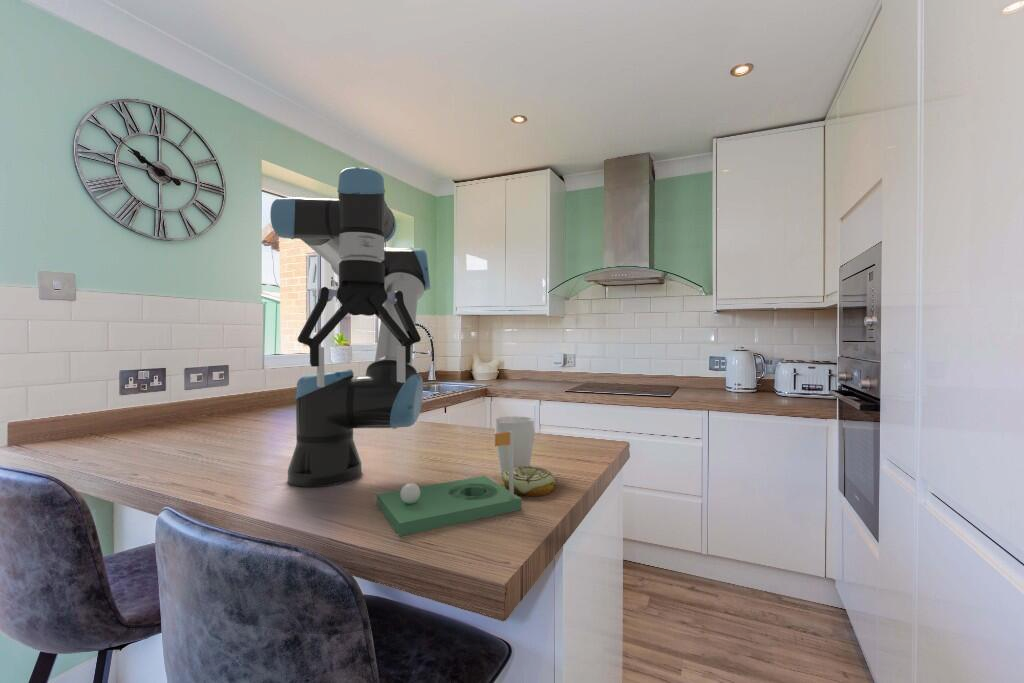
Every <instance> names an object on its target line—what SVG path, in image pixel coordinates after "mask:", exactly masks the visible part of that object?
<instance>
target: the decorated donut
mask: <svg viewBox="0 0 1024 683" xmlns="http://www.w3.org/2000/svg"><path fill="white" fill-rule="evenodd" d="M501 478H502V479H501V480H502V482H503V485H504V486H503V487H504V488H505V489H507V490H509V470H507V471H505V472H504V473H503V474H502V477H501ZM555 485H556V477H555V475H554V474H553V473H552V472H551V471H549V470H547V469H545V468H543V467H538V466H531V465H530V466H520V467H516V468H514V494H515V495H517V496H519V495H521V496H527V497H536V496H537V497H539V496H546V494H547V495H549V494H550V493H551V492H552V491H553V490H554V488H555Z"/></svg>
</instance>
